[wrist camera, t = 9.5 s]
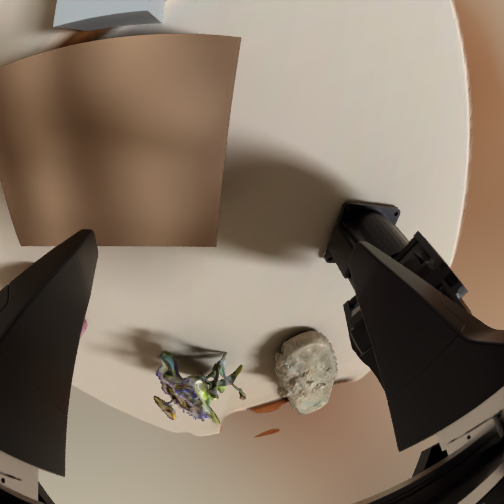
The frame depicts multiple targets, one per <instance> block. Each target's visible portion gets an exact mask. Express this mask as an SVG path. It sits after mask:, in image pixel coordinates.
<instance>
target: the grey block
mask: <svg viewBox="0 0 504 504" xmlns="http://www.w3.org/2000/svg"><path fill="white" fill-rule="evenodd" d="M164 6H165V0H57V4H56V9H55V16H54V23H53V27H57V28H67V29H75V30H82V31H92V30H98V29H104V28H111V27H118V26H127V25H137V24H151V23H162V18H163V12H164Z"/></svg>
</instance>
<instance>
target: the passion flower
mask: <svg viewBox="0 0 504 504" xmlns="http://www.w3.org/2000/svg"><path fill="white" fill-rule="evenodd" d="M225 357H226V352H225V354H224V355H223V357H222V359H221V361H219V362H217V363H216V364H215V365H214V367H213V370H212V372H211V373H210V374H209V375H208V376H206V377H205V376H202V375H201V374H200V376H188V377H187V378H182V377H181V376H180V374H179V372H178V367H177V362H176V360H175V359H174V357H173V356H172V354H171V353H170V352H167V351H165V350H164V351H163V354H161V355H160V356H159V358H160V359H161V362H162V364H163V365H162V366H161V367H159V368H158V370H157V372H156V375H157V376H158V377H159V379H160V380H161V381H160V382H161V384H162V390H163V391H164V392H165V394H168V395H170V397H171V398H172V400H171V401H170V402H165V401H163V400H162V399H160V398H159V397H157V396H154V400H155V402H156V403H157V405H158V406H159V407H160V408H161V409H162V411H163V412H164V413H165V414H166V415H167V416H168V417H169V418H170V419H172V420H174V419H175V418H176V415H175V410H174V409H173V408H172V407H171V406H172V405H173V404H178V405H179V408H181V409H182V410H183V412H184V411H185V412H186V413H188V414H189V415H190V416H194V418H195V419H197V417H198V418H199V419H201V420H202V421H204V417H205V418H207V417H209V418H210V419H212V422H214V423H216V424H220V421H219V419H218V417H217V416H216V414H215V413H214V411H213V410H212V409H211V408H210V407H209V405H210V402H211V400H215V399H216V398H217V399H218V398H219V397H218V394H217V390H216V389H218V390H219V391H220V393H223V392H224V390H225V387H226V386H227V385H232V386H233V387H234V388H236V390H238V391H239V394H240V399H242V400H244V399H246V394H245V393H243V392H242V390H241V389H240V388H238V387H236V386H235V385H234V384H233V382H234V381H235V379H236V377H237V376H238V374H239V373H240V372H241V370H242V365H240V366H239V367H238V368H237V369H236V371H234V372H233V373H232V374H231V375H229V376H228V377H226V376H225ZM219 373H220V375H222V376H223V378H224V379H225V380H223V379H221V380H220V381H219V380H218V377H219ZM209 377H213V378H214V380H212V381H208V380H207V379H208V378H209ZM208 385H210V386H209V387H208Z"/></svg>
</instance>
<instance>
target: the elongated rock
mask: <svg viewBox="0 0 504 504" xmlns="http://www.w3.org/2000/svg"><path fill="white" fill-rule="evenodd" d="M275 360H276V363H275V366H274V371H275V372H276V375H277V377H278V384H279V388H278V390H277V391H278V394H279V395H280V396H282V397H288V400H289V402H290V404H291V405H292V407H293V409H296V410H297V411H298V414H301V413H302V414H308V413H312V412H314V411H316V410H319V409H320V408H321V407H322V406H324V405H326V404H327V403H328V401H329V396H330V393H331V390H332V388H333V386H332V385H333V382H334V379H335V378H336V377H337V371H338V369H337V363H336V357H335V356H334V351H333V349H332V345H331V343H329V341H328V339H327V338H326V337H325V336H324V335H322V333H318V332H317V331H308V332H305V333H301V334H298V335H297V336H294V337H292V338H290V339H289V340H288V341H285V342H284V343H283V344H282V348H281V353H278V352H277V353H276V355H275Z"/></svg>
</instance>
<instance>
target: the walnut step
mask: <svg viewBox="0 0 504 504" xmlns="http://www.w3.org/2000/svg"><path fill="white" fill-rule="evenodd" d="M240 43H241V37H232V36H221V35H205V34H152V35H137V36H126V37H117V38H109V39H102V40H96V41H90V42H85V43H80V44H75V45H70V46H66V47H62V48H58V49H54V50H50V51H46V52H43V53H40V54H36V55H33V56H30V57H27V58H24V59H21V60H18V61H15V62H13V63H10V64H7V65H5V66H2V67H0V178H1V182H2V186H3V190H4V194H5V198H6V202H7V205H8V209H9V212H10V216H11V219H12V222H13V225H14V228H15V231H16V234H17V237H18V240H19V242H20V245H21V246H58V245H59V244H61V243H62V242H63V241H65V240H66V239H68V238H69V237H71V236H72V235H74V234H75V233H77V232H78V231H79V230H81V229H92V230H93V231H94V233H95V238H96V243H97V246H197V247H216V244H217V233H218V221H219V210H220V200H221V190H222V180H223V171H224V161H225V153H226V144H227V136H228V127H229V119H230V112H231V104H232V97H233V89H234V82H235V75H236V69H237V62H238V55H239V49H240Z"/></svg>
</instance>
